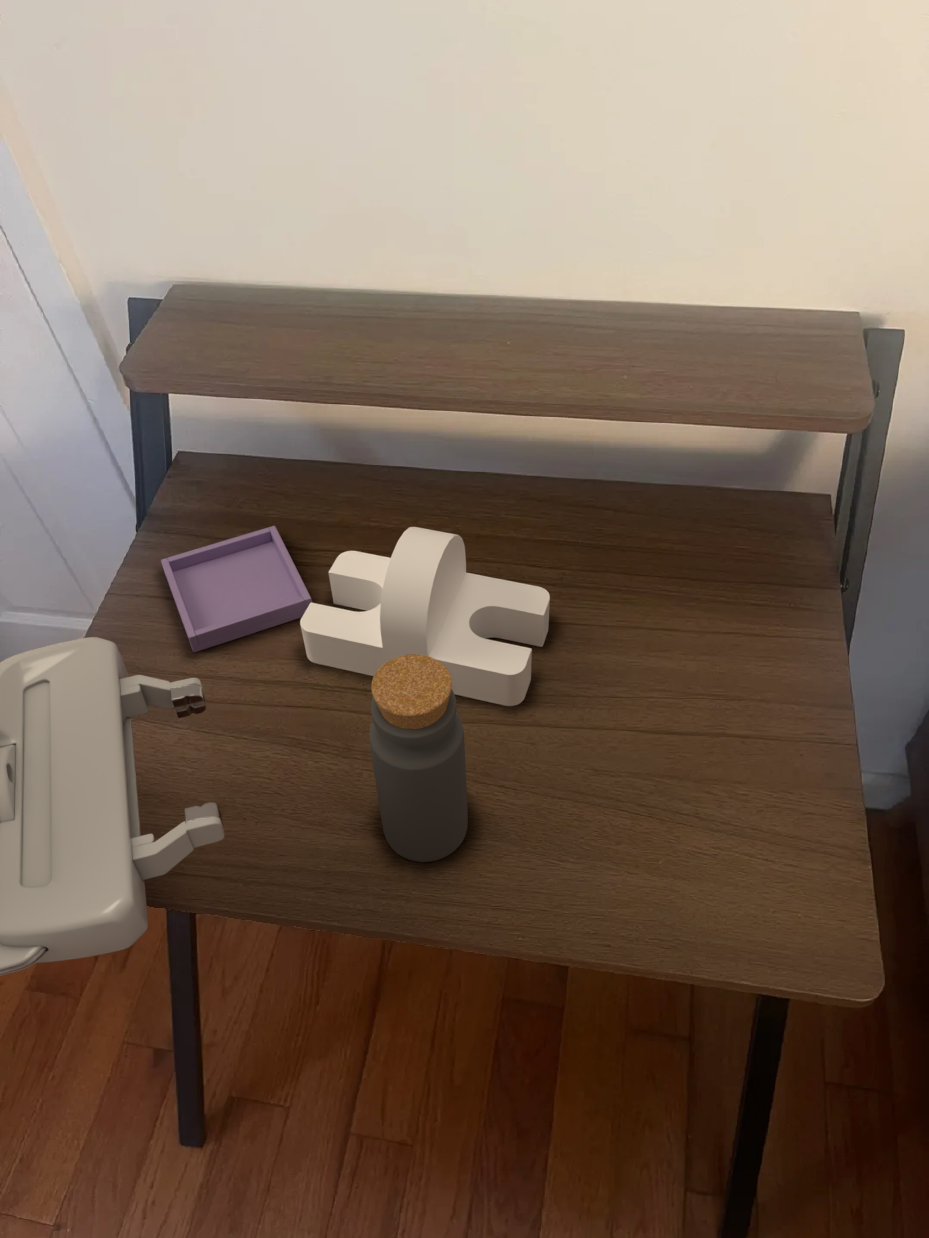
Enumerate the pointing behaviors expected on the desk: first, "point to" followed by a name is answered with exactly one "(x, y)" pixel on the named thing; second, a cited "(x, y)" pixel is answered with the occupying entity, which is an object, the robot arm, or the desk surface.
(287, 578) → the tray
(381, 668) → the bottle
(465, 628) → the white slotted bracket
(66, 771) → the robot arm
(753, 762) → the desk surface
